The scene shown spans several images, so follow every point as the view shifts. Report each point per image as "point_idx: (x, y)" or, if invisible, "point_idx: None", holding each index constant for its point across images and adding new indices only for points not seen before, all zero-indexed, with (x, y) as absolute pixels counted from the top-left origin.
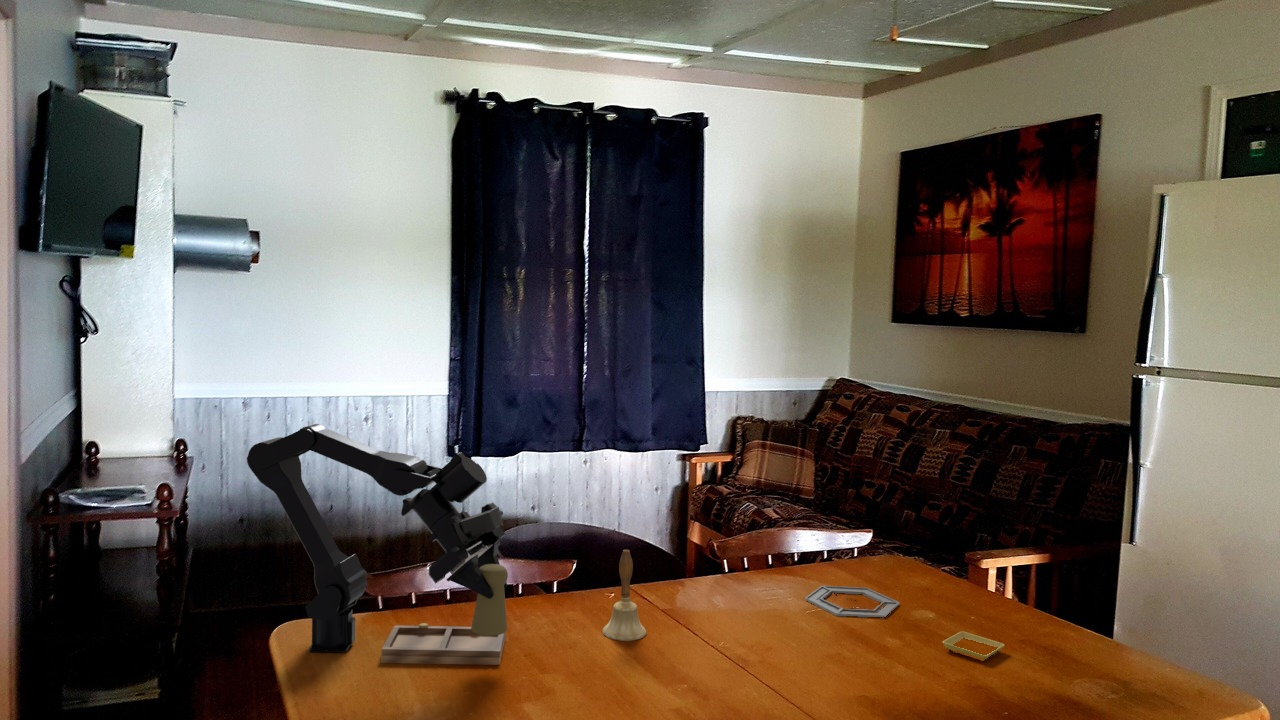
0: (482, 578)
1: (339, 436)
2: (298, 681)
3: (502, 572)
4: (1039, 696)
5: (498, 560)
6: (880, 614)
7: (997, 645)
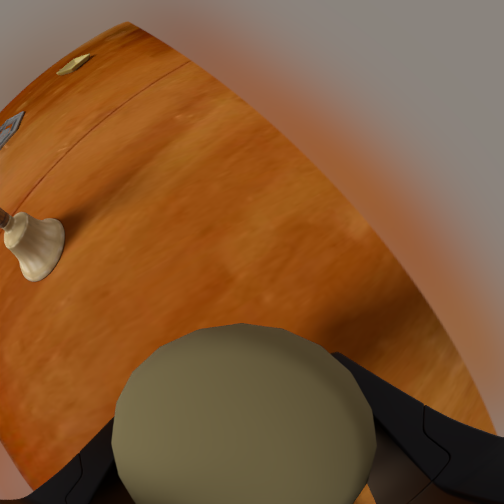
0: (415, 413)
1: None
2: None
3: (257, 334)
4: (130, 36)
5: (50, 478)
6: (20, 115)
7: (72, 61)
